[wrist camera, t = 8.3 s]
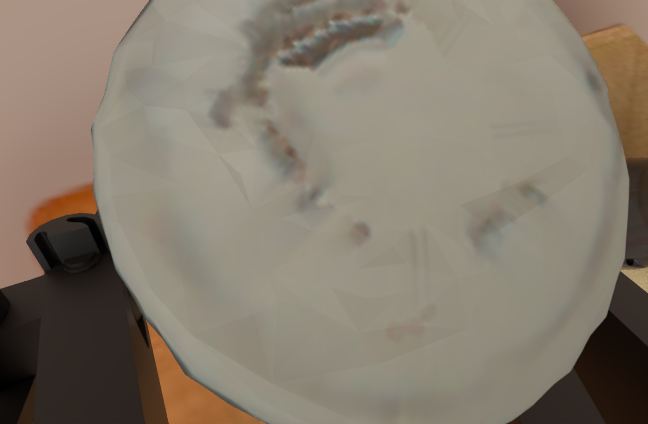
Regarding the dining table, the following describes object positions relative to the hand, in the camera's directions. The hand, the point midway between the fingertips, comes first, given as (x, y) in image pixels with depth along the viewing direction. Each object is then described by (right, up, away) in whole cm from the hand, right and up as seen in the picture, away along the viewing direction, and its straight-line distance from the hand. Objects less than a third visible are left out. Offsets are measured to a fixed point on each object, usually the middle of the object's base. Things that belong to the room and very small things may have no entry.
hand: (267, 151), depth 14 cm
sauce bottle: (-1, -5, +8) cm, 9 cm away
